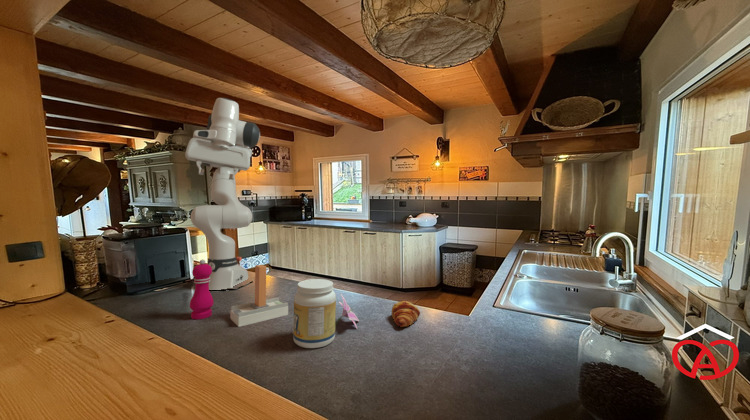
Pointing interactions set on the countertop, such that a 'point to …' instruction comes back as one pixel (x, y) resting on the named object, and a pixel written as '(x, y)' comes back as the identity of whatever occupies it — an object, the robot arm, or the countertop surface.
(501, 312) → the countertop surface
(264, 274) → the lever
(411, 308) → the croissant
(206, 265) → the pepper mill
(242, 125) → the robot arm
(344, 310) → the lily
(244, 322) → the white base plate
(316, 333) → the supplement tub
